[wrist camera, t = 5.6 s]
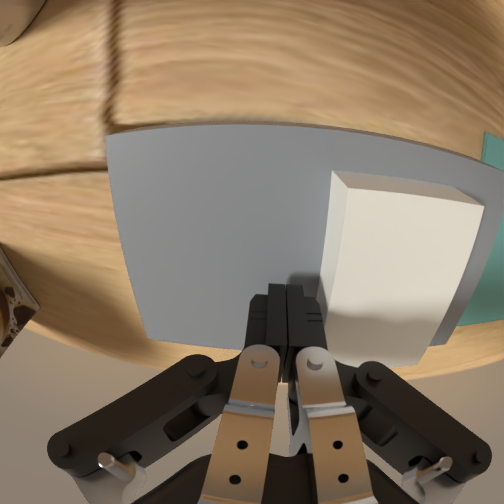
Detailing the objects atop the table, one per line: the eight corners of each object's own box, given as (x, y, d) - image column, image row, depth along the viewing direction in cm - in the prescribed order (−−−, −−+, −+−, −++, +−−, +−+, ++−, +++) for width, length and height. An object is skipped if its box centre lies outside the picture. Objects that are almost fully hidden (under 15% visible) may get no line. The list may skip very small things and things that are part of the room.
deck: (143, 126, 13) (104, 136, 10) (471, 157, 12) (511, 175, 8) (166, 299, 19) (148, 338, 16) (426, 308, 18) (445, 344, 14)
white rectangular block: (331, 170, 10) (348, 188, 8) (452, 186, 9) (484, 206, 7) (309, 337, 14) (312, 373, 12) (404, 333, 14) (417, 364, 12)
